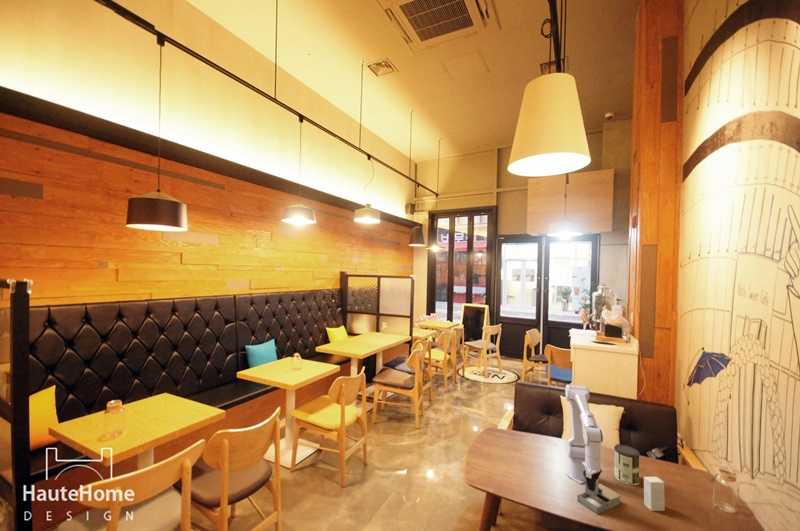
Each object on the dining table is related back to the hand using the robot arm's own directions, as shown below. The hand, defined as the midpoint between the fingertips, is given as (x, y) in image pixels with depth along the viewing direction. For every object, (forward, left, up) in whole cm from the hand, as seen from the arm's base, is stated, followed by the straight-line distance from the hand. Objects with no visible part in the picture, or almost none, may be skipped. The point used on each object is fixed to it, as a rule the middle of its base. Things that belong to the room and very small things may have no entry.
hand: (592, 487), depth 143 cm
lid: (-9, 0, -5) cm, 10 cm away
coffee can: (-34, -5, -8) cm, 35 cm away
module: (0, 0, -2) cm, 2 cm away
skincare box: (-23, +12, -8) cm, 27 cm away
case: (-4, 0, -7) cm, 9 cm away
